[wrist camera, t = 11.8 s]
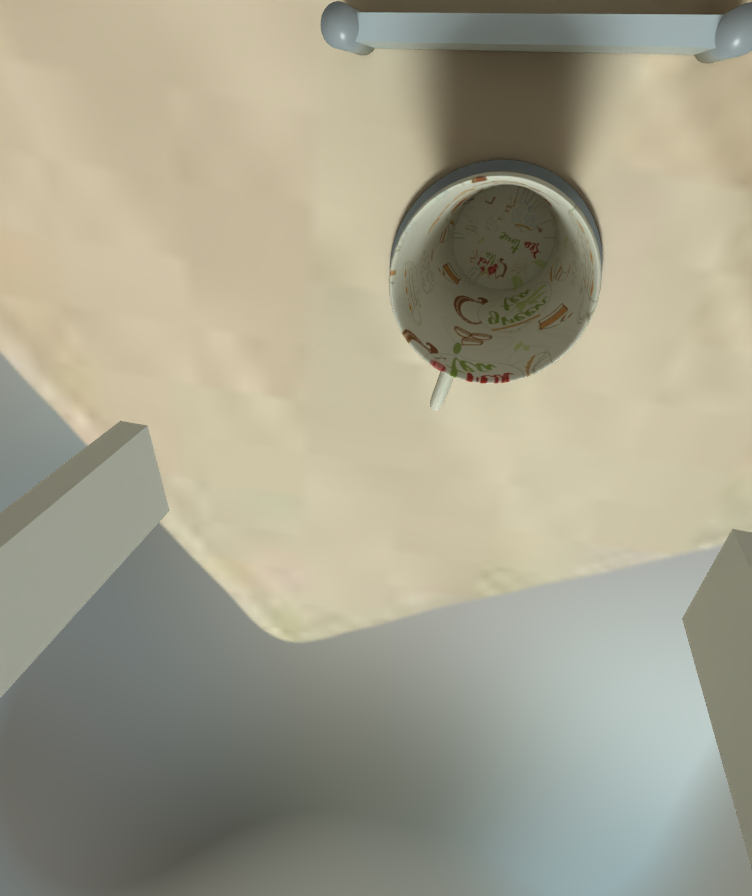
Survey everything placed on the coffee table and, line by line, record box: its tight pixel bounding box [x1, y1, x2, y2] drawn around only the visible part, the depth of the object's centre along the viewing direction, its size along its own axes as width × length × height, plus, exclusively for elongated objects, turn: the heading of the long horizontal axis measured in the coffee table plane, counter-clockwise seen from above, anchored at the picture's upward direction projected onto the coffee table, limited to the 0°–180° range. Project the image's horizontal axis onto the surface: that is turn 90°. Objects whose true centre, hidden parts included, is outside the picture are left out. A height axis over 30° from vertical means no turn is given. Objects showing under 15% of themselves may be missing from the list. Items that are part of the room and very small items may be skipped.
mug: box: [389, 171, 602, 411], centre depth 26 cm, size 8×13×10 cm, turn 166°
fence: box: [321, 1, 752, 63], centre depth 23 cm, size 2×18×4 cm, turn 88°
